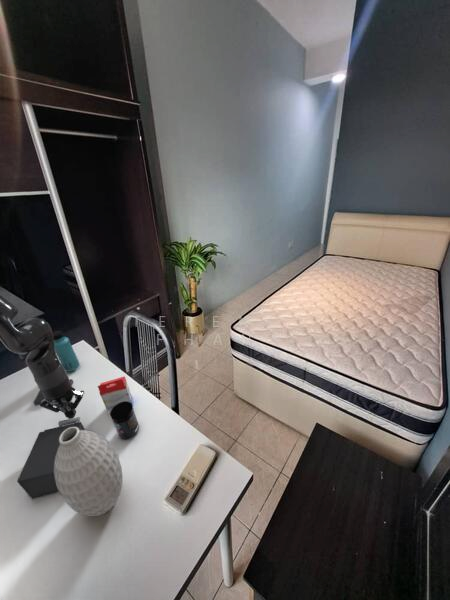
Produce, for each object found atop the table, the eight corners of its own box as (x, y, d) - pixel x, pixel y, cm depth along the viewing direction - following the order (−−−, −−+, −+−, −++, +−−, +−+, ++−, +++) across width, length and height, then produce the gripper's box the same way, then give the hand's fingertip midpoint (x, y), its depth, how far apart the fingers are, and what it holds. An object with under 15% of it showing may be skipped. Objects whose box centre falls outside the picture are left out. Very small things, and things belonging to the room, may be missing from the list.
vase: (115, 463, 73) (85, 399, 60) (140, 494, 66) (112, 429, 53) (71, 504, 65) (24, 439, 51) (93, 544, 58) (46, 482, 44)
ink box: (132, 397, 95) (123, 369, 88) (133, 407, 91) (123, 379, 84) (109, 405, 92) (97, 376, 85) (108, 416, 88) (96, 387, 81)
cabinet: (51, 450, 78) (39, 432, 74) (90, 440, 80) (81, 422, 76) (32, 499, 66) (16, 481, 62) (78, 486, 68) (66, 468, 64)
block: (35, 405, 94) (31, 399, 92) (44, 387, 101) (41, 381, 100) (66, 399, 96) (63, 392, 94) (73, 381, 103) (70, 375, 102)
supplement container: (122, 421, 86) (115, 401, 81) (142, 421, 85) (135, 400, 80) (115, 441, 80) (106, 420, 75) (135, 440, 80) (128, 419, 75)
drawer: (58, 431, 83) (49, 417, 79) (91, 424, 84) (84, 410, 81) (36, 487, 68) (25, 473, 65) (77, 476, 70) (68, 462, 66)
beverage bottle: (79, 361, 114) (63, 326, 105) (82, 369, 110) (66, 333, 100) (63, 368, 111) (45, 332, 101) (66, 376, 106) (48, 339, 97)
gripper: (79, 366, 79) (95, 402, 87) (33, 374, 77) (55, 411, 85) (72, 383, 73) (90, 421, 81) (22, 393, 70) (46, 431, 79)
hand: (72, 416), depth 83 cm, fingers closed
